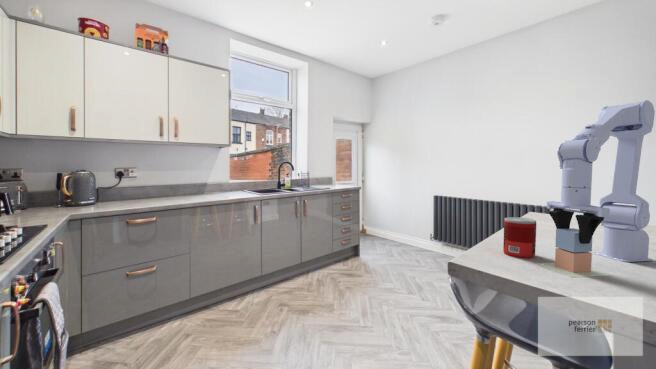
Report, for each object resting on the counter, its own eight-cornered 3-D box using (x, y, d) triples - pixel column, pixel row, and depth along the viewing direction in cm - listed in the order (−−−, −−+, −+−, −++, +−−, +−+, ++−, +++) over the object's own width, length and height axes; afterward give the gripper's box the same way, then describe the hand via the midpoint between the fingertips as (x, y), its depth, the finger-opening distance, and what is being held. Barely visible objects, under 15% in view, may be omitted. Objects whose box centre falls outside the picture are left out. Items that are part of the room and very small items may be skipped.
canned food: (540, 260, 82) (541, 222, 81) (509, 258, 83) (510, 221, 83) (527, 252, 89) (528, 217, 89) (499, 251, 91) (500, 216, 90)
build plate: (572, 262, 80) (572, 261, 80) (612, 276, 70) (612, 275, 70) (536, 264, 78) (536, 263, 78) (572, 278, 68) (572, 277, 68)
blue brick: (572, 246, 76) (573, 228, 76) (591, 251, 72) (592, 232, 71) (555, 247, 76) (556, 228, 76) (573, 252, 71) (574, 233, 71)
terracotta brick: (571, 265, 77) (572, 247, 77) (590, 271, 72) (591, 252, 72) (554, 266, 76) (555, 248, 76) (573, 272, 71) (573, 253, 71)
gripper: (537, 185, 80) (535, 234, 80) (591, 189, 65) (588, 248, 66) (560, 185, 80) (558, 233, 81) (618, 189, 66) (615, 247, 67)
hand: (573, 240), depth 74 cm, fingers open, 5 cm apart
